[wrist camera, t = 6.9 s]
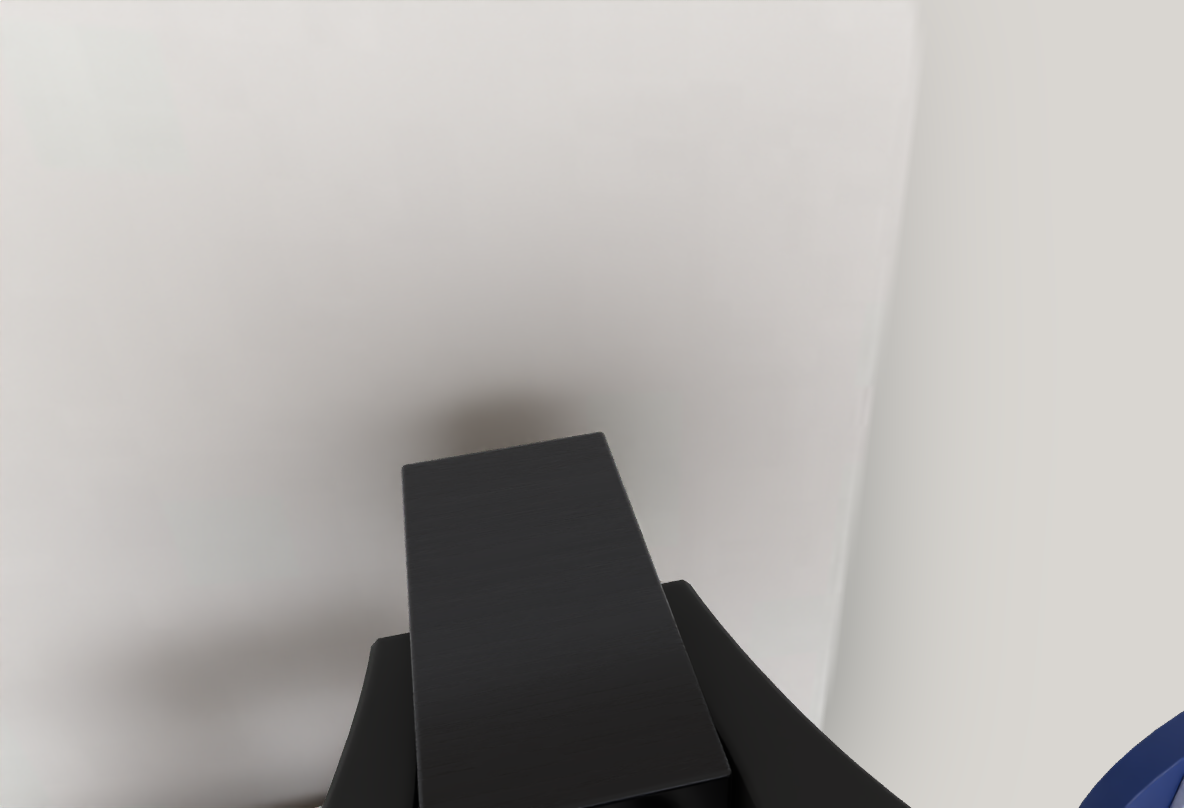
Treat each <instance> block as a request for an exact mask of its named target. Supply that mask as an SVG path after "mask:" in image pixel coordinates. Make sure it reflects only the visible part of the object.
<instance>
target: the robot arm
mask: <svg viewBox="0 0 1184 808" xmlns="http://www.w3.org/2000/svg"><path fill="white" fill-rule="evenodd" d="M661 585H662V588H663V591H664V593H665V596H666V599H667V601H668V604H669V607H670V609H671V612H672V614H673V617H674V620H675V622H676V625H677V628H678V630H679V633H680V636H681V638H682V641H683V644H684V646H685V649H686V651H687V654H688V657H689V659H690V662H691V665H692V667H693V670H694V673H695V675H696V678H697V680H698V683H699V686H700V688H701V691H702V694H703V696H704V699H705V702H706V704H707V707H708V710H709V712H710V715H711V717H712V720H713V723H714V725H715V728H716V731H717V733H718V736H719V739H720V741H721V744H722V746H723V749H724V752H725V754H726V757H727V760H728V762H729V765H730V768H731V770H732V792H731V808H911V807H910V806H908V805H907V804H906V803H904V802H903V801H902V800H900V799H899V798H898V797H897V796H895V795H894V794H893V793H891V792H890V791H889V790H888V789H887V788H885V787H884V786H883V785H882V784H881V783H879V782H878V781H877V780H876V779H874V778H873V777H872V776H871V775H870V774H868V773H867V772H866V771H865V770H864V769H863V768H861V767H860V766H859V765H858V764H857V763H856V762H854V761H853V760H852V759H851V758H850V757H849V756H848V755H846V754H845V753H844V752H843V751H842V750H841V749H840V748H839V747H837V746H836V745H835V744H834V743H833V742H832V741H831V740H830V739H829V738H828V737H827V736H826V735H825V734H824V733H823V732H821V731H820V730H819V729H818V728H817V727H816V726H815V725H814V724H813V723H812V722H811V721H810V720H809V719H808V718H807V717H806V716H805V715H804V714H803V713H802V712H801V711H800V710H799V709H798V708H797V707H796V706H795V705H794V704H793V703H792V702H791V701H790V700H789V699H788V698H787V697H786V696H785V695H784V694H783V693H782V692H781V691H780V690H779V689H778V688H777V687H776V686H775V685H774V684H773V682H772V681H771V680H770V679H769V678H768V677H767V676H766V675H765V674H764V673H763V672H762V671H761V670H760V669H759V668H758V667H757V666H756V664H755V663H754V662H753V661H752V660H751V659H750V658H749V657H748V655H747V654H746V653H745V652H744V651H743V650H742V649H741V648H740V646H739V645H738V644H737V643H736V642H735V640H734V639H733V638H732V637H731V636H730V635H729V633H728V632H727V631H726V630H725V629H724V627H723V626H722V625H721V624H720V623H719V621H718V620H717V619H716V618H715V616H714V615H713V614H712V613H711V611H710V610H709V609H708V608H707V606H706V605H705V604H704V602H703V601H702V600H701V598H700V597H699V596H698V594H697V593H696V592H695V590H694V589H693V587H692V586H691V585H690V584H689V583H687V582H686V581H684V580H678V581H673V582H668V583H663V584H661ZM322 808H419V801H418V781H417V762H416V742H415V723H414V704H413V684H412V665H411V646H410V633H405V634H400V635H395V636H390V637H384V638H379V639H378V640H377V641H376V642H375V643H374V644H373V645H372V646H371V651H370V656H369V662H368V667H367V671H366V675H365V680H364V684H363V687H362V691H361V695H360V699H359V702H358V706H357V709H356V712H355V715H354V719H353V722H352V725H351V729H350V732H349V735H348V738H347V740H346V743H345V746H344V749H343V752H342V755H341V758H340V760H339V763H338V766H337V769H336V772H335V775H334V778H333V780H332V783H331V786H330V788H329V791H328V794H327V796H326V799H325V801H324V803H323V806H322ZM1170 808H1184V777H1183V780H1182V782H1181V784H1180V786H1179V788H1178V791H1177V793H1176V795H1175V797H1174V799H1173V802H1172V804H1171V806H1170Z"/></svg>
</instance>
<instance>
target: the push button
mask: <svg viewBox="0 0 1184 808" xmlns="http://www.w3.org/2000/svg"><path fill="white" fill-rule="evenodd" d="M401 472H402V491H403V510H404V530H405V549H406V568H407V588H408V607H409V626H410V646H411V665H412V684H413V704H414V723H415V742H416V762H417V781H418V801H419V808H731V792H732V770H731V768H730V765H729V762H728V760H727V757H726V754H725V752H724V749H723V746H722V744H721V741H720V739H719V736H718V733H717V731H716V728H715V725H714V723H713V720H712V717H711V715H710V712H709V710H708V707H707V704H706V702H705V699H704V696H703V694H702V691H701V688H700V686H699V683H698V680H697V678H696V675H695V673H694V670H693V667H692V665H691V662H690V659H689V657H688V654H687V651H686V649H685V646H684V644H683V641H682V638H681V636H680V633H679V630H678V628H677V625H676V622H675V620H674V617H673V614H672V612H671V609H670V607H669V604H668V601H667V599H666V596H665V593H664V591H663V588H662V585H661V583H660V580H659V578H658V575H657V572H656V570H655V567H654V564H653V562H652V559H651V556H650V554H649V551H648V548H647V546H646V543H645V541H644V538H643V535H642V533H641V530H640V527H639V525H638V522H637V519H636V517H635V514H634V512H633V509H632V506H631V504H630V501H629V498H628V496H627V493H626V490H625V488H624V485H623V483H622V480H621V477H620V475H619V472H618V469H617V467H616V464H615V461H614V459H613V456H612V453H611V451H610V448H609V446H608V443H607V440H606V438H605V435H604V434H603V433H602V432H596V433H590V434H584V435H578V436H572V437H567V438H561V439H555V440H549V441H543V442H537V443H531V444H525V445H519V446H513V447H507V448H502V449H496V450H490V451H484V452H478V453H472V454H466V455H460V456H454V457H448V458H442V459H437V460H431V461H425V462H419V463H413V464H407V465H404V466H403V467H402V470H401Z"/></svg>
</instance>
